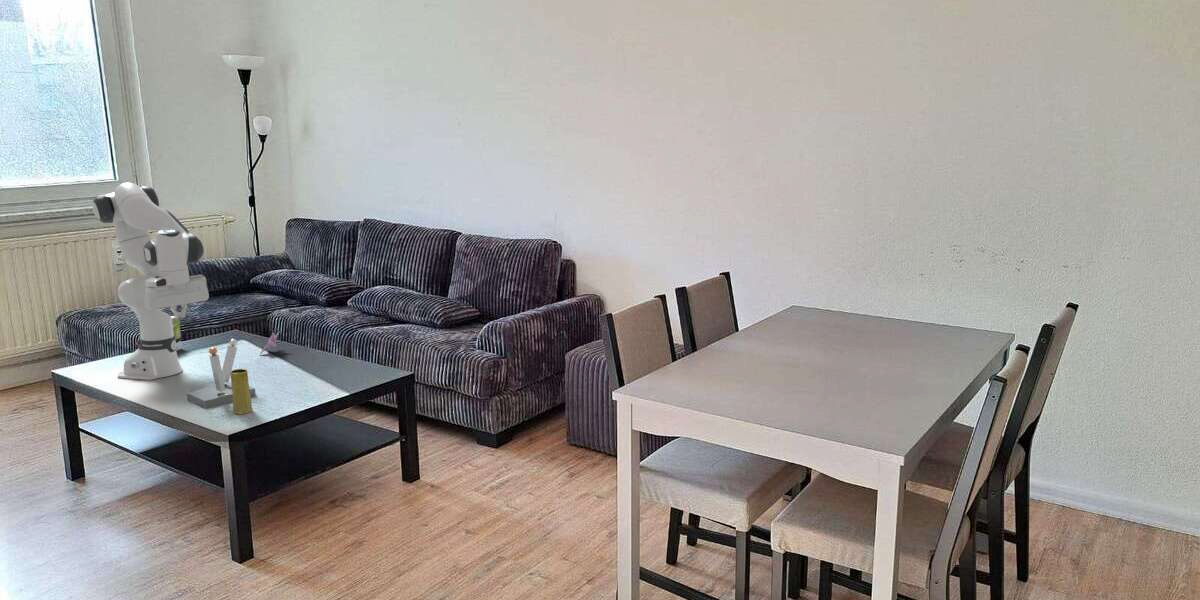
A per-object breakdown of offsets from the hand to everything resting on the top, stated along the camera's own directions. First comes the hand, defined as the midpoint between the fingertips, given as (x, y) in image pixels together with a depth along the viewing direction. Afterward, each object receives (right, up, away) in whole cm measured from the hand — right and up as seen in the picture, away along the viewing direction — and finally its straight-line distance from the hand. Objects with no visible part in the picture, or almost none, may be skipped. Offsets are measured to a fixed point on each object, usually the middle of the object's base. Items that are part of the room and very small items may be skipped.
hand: (180, 317), depth 294 cm
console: (+9, -28, +11) cm, 32 cm away
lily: (+6, -17, +68) cm, 71 cm away
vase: (+23, -32, -4) cm, 39 cm away
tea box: (-42, -17, +70) cm, 83 cm away
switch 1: (+11, -25, +6) cm, 28 cm away
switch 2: (+8, -23, +16) cm, 29 cm away
